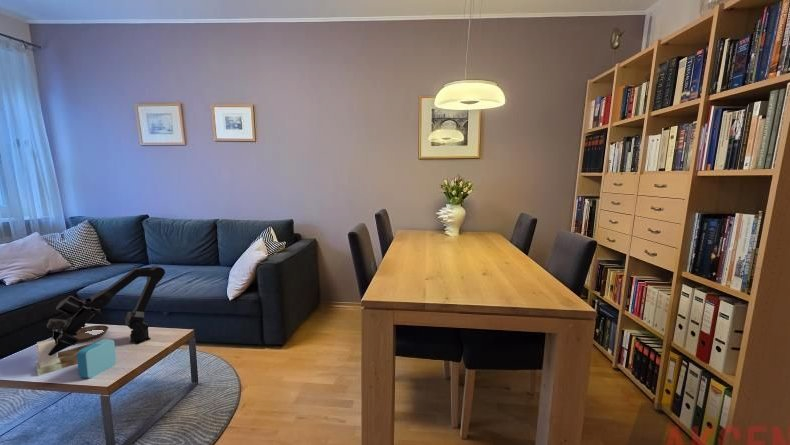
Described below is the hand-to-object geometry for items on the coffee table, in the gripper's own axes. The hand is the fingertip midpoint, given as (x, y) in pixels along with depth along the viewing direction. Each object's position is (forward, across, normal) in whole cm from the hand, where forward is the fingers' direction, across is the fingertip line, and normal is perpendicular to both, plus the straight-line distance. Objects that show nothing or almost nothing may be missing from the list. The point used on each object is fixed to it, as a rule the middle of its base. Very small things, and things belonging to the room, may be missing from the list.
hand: (47, 351), depth 140 cm
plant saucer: (-6, -27, +17) cm, 32 cm away
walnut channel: (0, 0, +11) cm, 11 cm away
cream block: (+4, 0, +4) cm, 5 cm away
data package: (-4, +20, +14) cm, 25 cm away
